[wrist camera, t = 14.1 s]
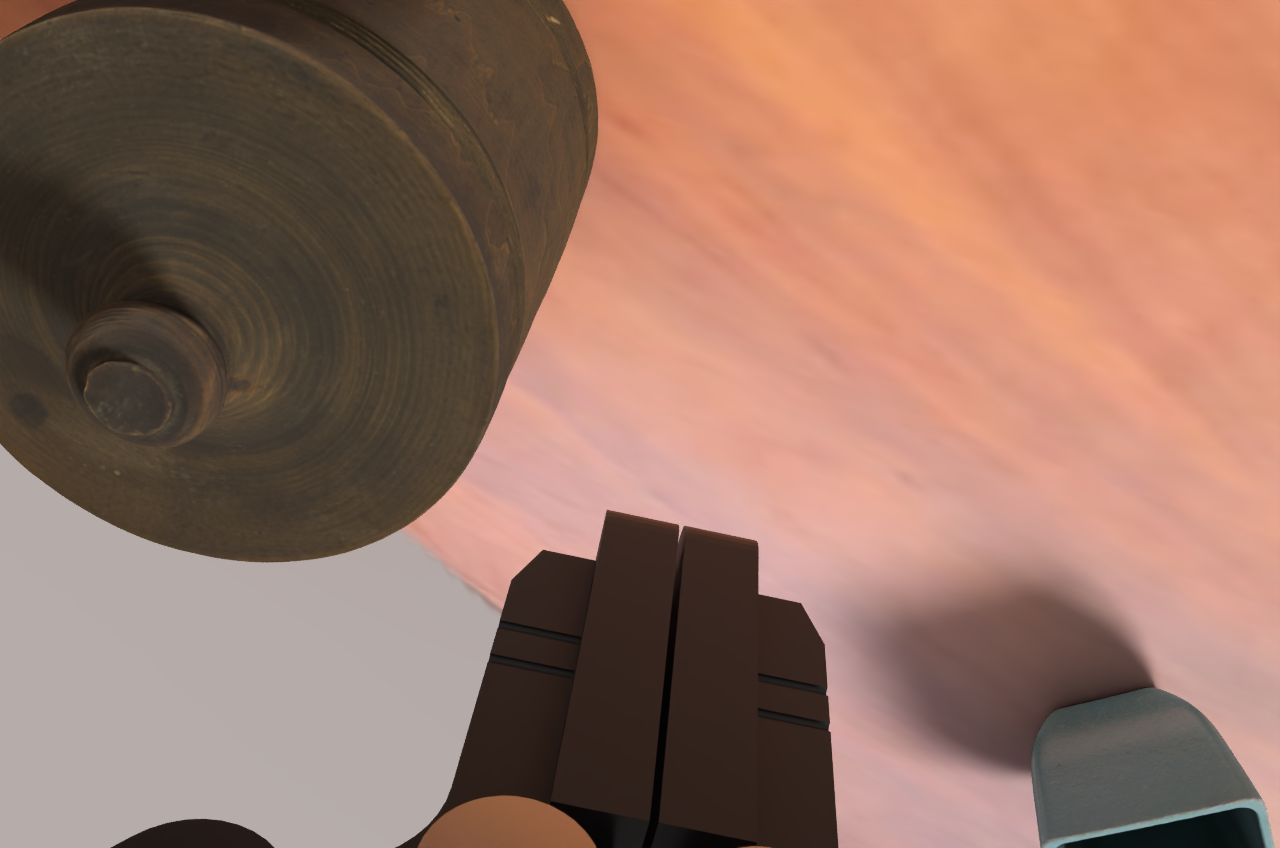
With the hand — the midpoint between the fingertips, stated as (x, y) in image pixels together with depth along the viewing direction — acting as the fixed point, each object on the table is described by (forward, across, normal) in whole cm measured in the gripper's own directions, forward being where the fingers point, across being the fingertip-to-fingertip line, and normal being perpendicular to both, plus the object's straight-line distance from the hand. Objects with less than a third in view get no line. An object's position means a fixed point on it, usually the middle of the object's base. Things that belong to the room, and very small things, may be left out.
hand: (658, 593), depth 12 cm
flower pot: (+33, -26, +30) cm, 52 cm away
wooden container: (+33, +11, +7) cm, 36 cm away
